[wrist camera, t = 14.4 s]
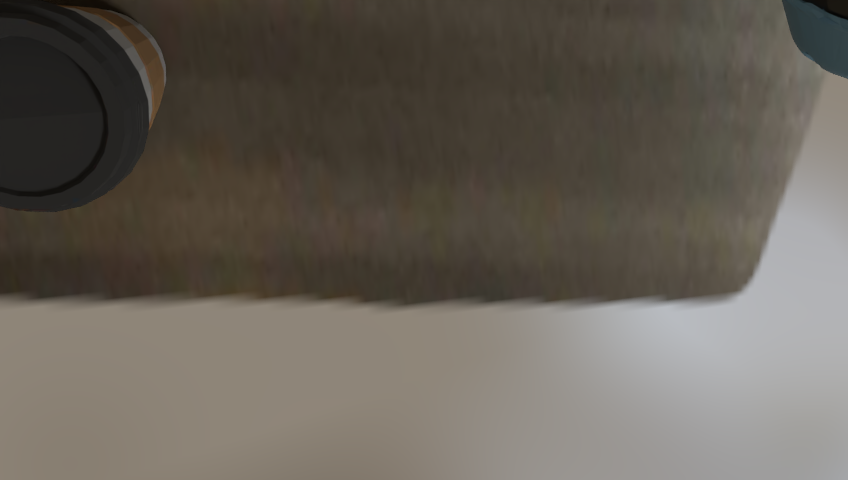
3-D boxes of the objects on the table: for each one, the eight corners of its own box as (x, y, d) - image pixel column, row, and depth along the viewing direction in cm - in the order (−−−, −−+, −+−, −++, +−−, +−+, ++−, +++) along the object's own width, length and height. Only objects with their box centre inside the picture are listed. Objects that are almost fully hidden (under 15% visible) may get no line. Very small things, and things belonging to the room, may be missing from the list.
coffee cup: (10, -7, 37) (-143, 6, 23) (172, -14, 39) (116, -5, 25) (47, 145, 40) (-69, 235, 27) (196, 133, 42) (158, 213, 28)
